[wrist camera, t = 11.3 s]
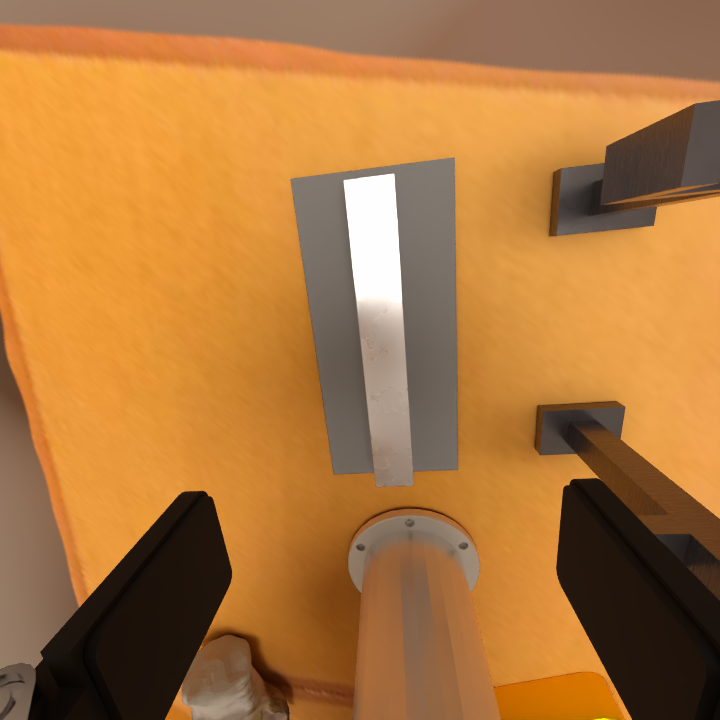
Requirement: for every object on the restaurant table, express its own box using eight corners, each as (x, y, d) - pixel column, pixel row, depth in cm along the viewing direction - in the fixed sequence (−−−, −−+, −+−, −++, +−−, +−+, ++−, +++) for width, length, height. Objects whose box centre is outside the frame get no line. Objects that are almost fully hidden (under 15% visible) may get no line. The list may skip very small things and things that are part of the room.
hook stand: (610, 445, 28) (973, 758, 11) (498, 449, 29) (665, 745, 11) (652, 160, 21) (1736, -215, 4) (506, 177, 22) (908, -69, 5)
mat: (457, 466, 29) (458, 469, 29) (334, 470, 30) (333, 474, 30) (452, 159, 22) (454, 157, 22) (292, 180, 23) (290, 178, 23)
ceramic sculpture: (233, 726, 29) (280, 803, 34) (266, 618, 37) (300, 694, 42) (126, 725, 31) (186, 800, 36) (180, 622, 39) (223, 695, 44)
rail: (411, 462, 29) (413, 485, 26) (376, 464, 29) (375, 486, 26) (392, 183, 22) (394, 173, 20) (349, 189, 23) (343, 180, 20)
